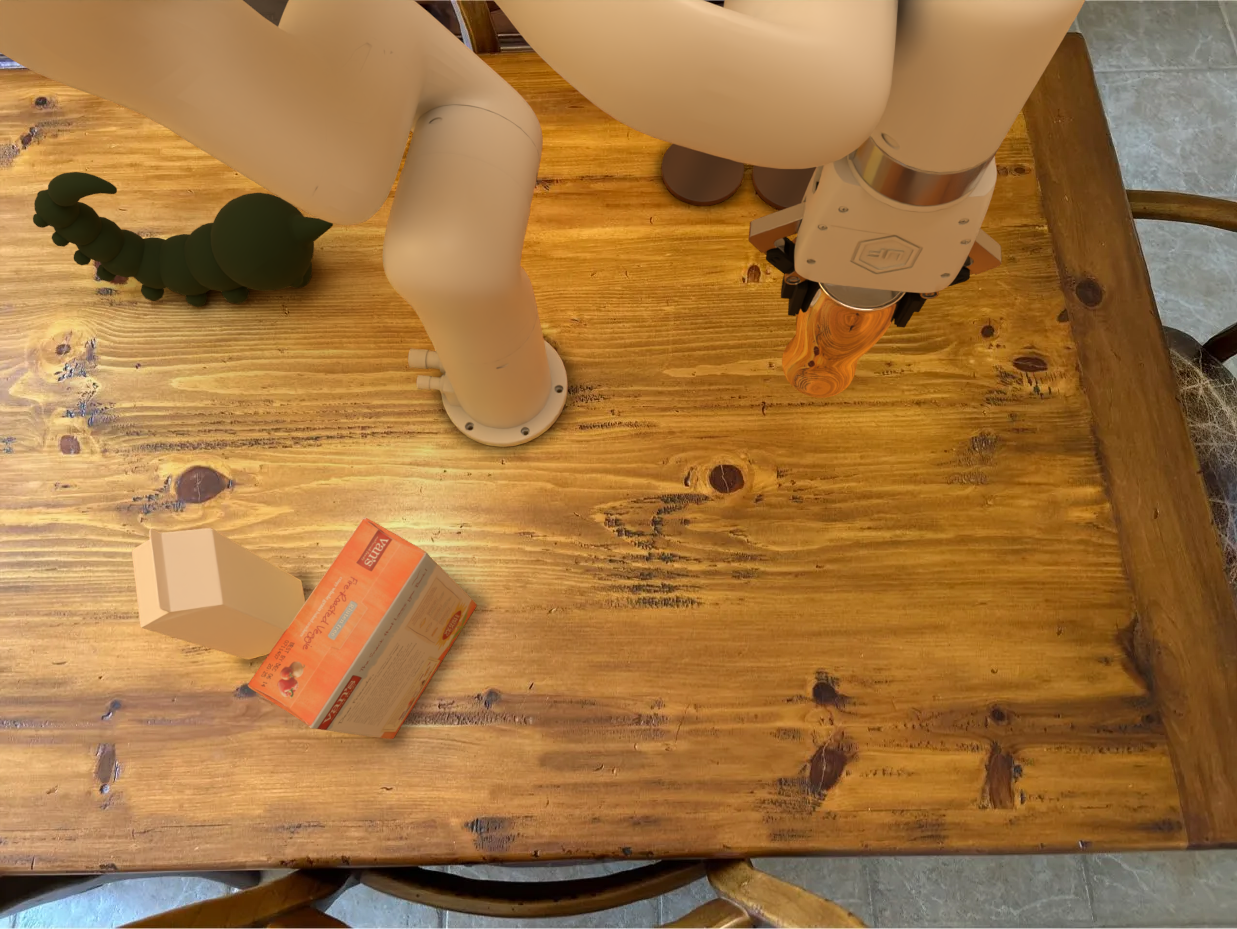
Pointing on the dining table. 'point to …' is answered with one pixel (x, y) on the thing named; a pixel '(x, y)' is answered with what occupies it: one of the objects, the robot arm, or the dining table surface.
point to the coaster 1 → (700, 176)
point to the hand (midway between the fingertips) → (846, 302)
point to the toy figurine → (187, 244)
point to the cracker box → (366, 637)
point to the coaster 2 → (781, 185)
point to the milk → (213, 592)
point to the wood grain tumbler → (836, 335)
